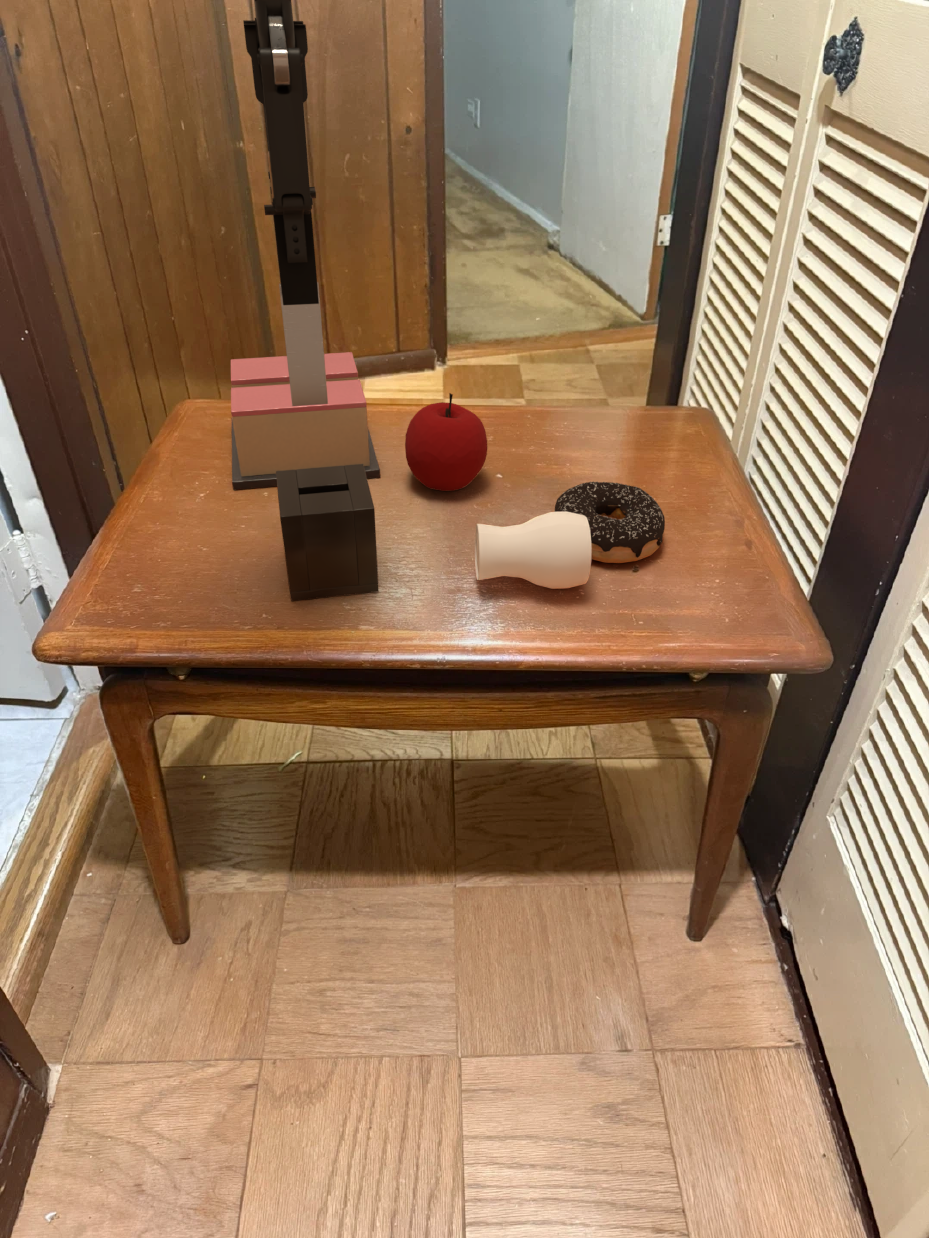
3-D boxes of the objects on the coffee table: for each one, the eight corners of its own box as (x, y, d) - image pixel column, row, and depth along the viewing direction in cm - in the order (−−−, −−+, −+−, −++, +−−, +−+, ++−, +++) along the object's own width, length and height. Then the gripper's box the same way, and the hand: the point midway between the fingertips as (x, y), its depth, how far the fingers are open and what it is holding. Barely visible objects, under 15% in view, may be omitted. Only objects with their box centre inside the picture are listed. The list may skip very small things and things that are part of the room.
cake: (233, 490, 93) (220, 416, 88) (232, 424, 106) (221, 356, 100) (380, 477, 96) (377, 405, 91) (363, 415, 108) (359, 348, 103)
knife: (292, 410, 72) (265, 157, 60) (291, 400, 74) (264, 151, 62) (328, 408, 73) (308, 156, 61) (326, 398, 74) (307, 150, 62)
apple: (390, 472, 97) (387, 388, 91) (460, 454, 101) (462, 372, 95) (428, 510, 91) (428, 423, 85) (501, 490, 95) (506, 405, 88)
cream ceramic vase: (478, 606, 78) (586, 603, 79) (480, 541, 74) (596, 538, 75) (472, 561, 84) (573, 559, 85) (474, 498, 80) (581, 496, 80)
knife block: (291, 601, 78) (279, 516, 73) (286, 552, 84) (275, 470, 79) (378, 591, 80) (374, 508, 74) (368, 544, 86) (363, 463, 80)
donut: (629, 500, 94) (634, 467, 91) (684, 560, 85) (691, 525, 82) (534, 515, 91) (537, 482, 88) (581, 579, 82) (586, 544, 80)
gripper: (335, -93, 48) (358, 329, 62) (316, -90, 59) (339, 266, 74) (195, -97, 46) (252, 334, 61) (203, -94, 58) (249, 269, 73)
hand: (299, 296), depth 67 cm, fingers closed on knife, 2 cm apart
